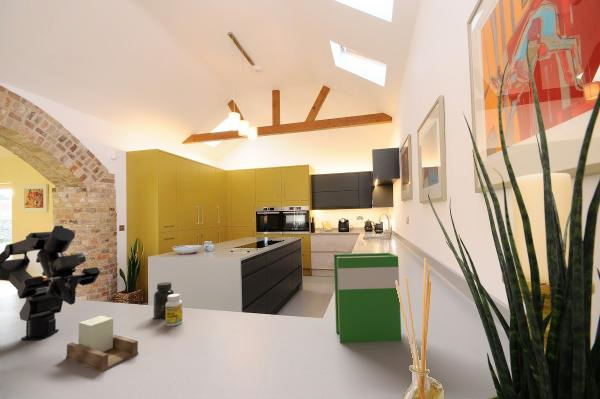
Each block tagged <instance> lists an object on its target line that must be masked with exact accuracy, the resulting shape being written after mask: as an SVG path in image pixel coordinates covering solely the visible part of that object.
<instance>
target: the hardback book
mask: <svg viewBox="0 0 600 399" xmlns="http://www.w3.org/2000/svg"><path fill="white" fill-rule="evenodd" d="M333 264H334V266H333V268H334V300H335V304H334V305H335V306H334V307H335V332H336V334H339V343H340V344H354V343H377V342H378V343H381V342H402V322H401V301H400V302H399V298H398V294H397V290H396V284H395V280H397V281H398V285H399V286H400V270H399V269H400V268H399V256H398V255H395V254H394V253H390V252H378V253H377V252H375V253H374V252H372V253H369V252H368V253H365V252H364V253H342V254H341V253H337V254H336V253H334V254H333Z"/></svg>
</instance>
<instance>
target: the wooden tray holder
mask: <svg viewBox="0 0 600 399" xmlns="http://www.w3.org/2000/svg"><path fill="white" fill-rule="evenodd" d="M138 346H139V340H135V339H132V338H128V337H125V336H121V335H117V334H114V333H113V348H111V349H109V350H106V351H104V352H100V351H97V350H94V349H91V348H88V347H85V346H82V345H79V344H78V343H75V342H69V343H67V344H66V355H65V359H66V360H68V361H71V362H74V363H77V364H79V365H81V366H85V367H87V368H90V369H92V370H95V371H98V372H101V373H103V372H104V371H107V370H109V369H111V368H113V367H115V366H118V365H119V364H121V363H123V362H125V361H128V360H129V358H130V359H131V357H132V358H133V357H136V356H137V355H139V350H138V349H139V348H138Z"/></svg>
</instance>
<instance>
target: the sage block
mask: <svg viewBox="0 0 600 399" xmlns="http://www.w3.org/2000/svg"><path fill="white" fill-rule="evenodd" d="M113 334H114V318H113V317H109V316H105V315H99V316H95V317H92V318H90V319H86V320H83V321H80V322H78V341H77V342H78V343H77V344H79V345H82V346H85V347H88V348H91V349H94V350H97V351H100V352H104V351H106V350H109V349H111V348H113Z"/></svg>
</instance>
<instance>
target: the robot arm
mask: <svg viewBox="0 0 600 399" xmlns="http://www.w3.org/2000/svg"><path fill="white" fill-rule="evenodd" d="M75 238H76V234H75V232H74V231H73V230H71V229H69V228H66V227H64V225H54V227H53V229H52V231H38V232H30V233H29V234H27V235H26V236H25V239H23V240H19V241H17V242H14V243H13V242H12V243H8V244H6V245H5V247H4V250H3V251H1V252H0V281H6V282H9V283H10V284H11V285H12V286H13V287H14V288H15V289H16V290H17V293H16V294H17V296H18V298H19V299H20V300H22V299H25V301H24V302H25V303H24V304H23V306H22V307H21V309H20V311H19V319H20V320H22V321H24V322H26V327H25V328H26V330H25V335H24V336H23V337H21V338H20V340H21V341H22V340H23V341H25V340H27V341H28V340H31V341H32V340H42V339H45V338H46V337H49V336H51V335H53V334H55V333H57V332H60V329H59V328H57V327H56V326H57V324H56V322H57V321H56V320H57V319H56V314H58V313H61V311H62V307H63V302H65V303H67V304H69V305H70V306H71V305H75V303H76V292H77V291H76V289H77V287H78V286H88V285H92V284H93V283H95V282H96V280H97V279H98V277H99V276H100V274H101V270H100V268H99V267H98V266H92V267H87V268H83V269H82V271H81V272H80V273H76V274H74V273H75V272H76V271H77V267H78V266H80V265H82V264H84V263H85V262H86V261H87V260H86V255H85V254H84V253H83V252H77V253H76V254H69V255H64V254H63V253H64V252H67V251H68V249H69V248H70V246H71V244H72V242H73V241H74V239H75ZM33 251H35V252H36V251H38V252H37V254H36V260H35V262H36V263H37V264H38V263H40V265H41V268H42V270H43V271H42V272H41V274H42V275H39V276H32V275H31V274H30V273H29V272H28V268H29V265H30V263H31V260H30V258H29V256H28V253H29V252H33ZM15 255H17V256H18V255H23V258H17V259H16V258H15V259H9V258H10V257H11V256H15ZM44 276H45V277H46V280H44Z"/></svg>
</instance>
